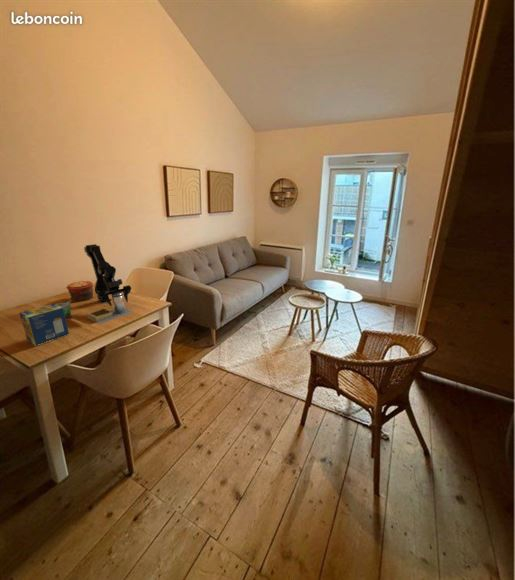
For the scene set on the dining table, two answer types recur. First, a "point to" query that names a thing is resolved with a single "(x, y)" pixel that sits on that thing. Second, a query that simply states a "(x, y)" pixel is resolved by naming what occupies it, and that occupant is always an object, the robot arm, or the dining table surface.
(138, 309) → the dining table surface
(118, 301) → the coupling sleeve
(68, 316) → the food container
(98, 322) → the board
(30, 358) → the dining table surface
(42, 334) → the protein box
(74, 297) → the food container
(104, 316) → the tan square tray
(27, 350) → the dining table surface
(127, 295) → the robot arm
